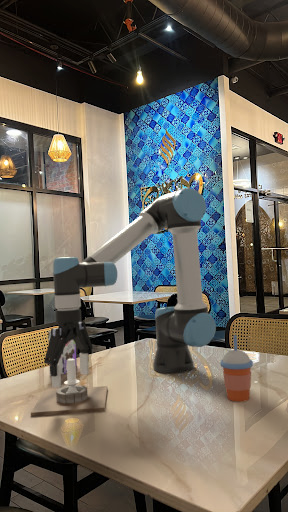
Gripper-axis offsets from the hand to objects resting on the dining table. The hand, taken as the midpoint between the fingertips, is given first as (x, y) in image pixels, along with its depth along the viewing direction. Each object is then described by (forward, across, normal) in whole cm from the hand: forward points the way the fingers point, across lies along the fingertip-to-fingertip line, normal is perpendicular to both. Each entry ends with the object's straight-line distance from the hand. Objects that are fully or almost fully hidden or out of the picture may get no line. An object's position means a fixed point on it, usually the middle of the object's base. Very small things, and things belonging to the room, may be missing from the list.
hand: (71, 380), depth 123 cm
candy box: (+6, -30, -26) cm, 40 cm away
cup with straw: (+6, -18, +45) cm, 49 cm away
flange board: (+6, 0, 0) cm, 6 cm away
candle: (+5, 0, 0) cm, 5 cm away
